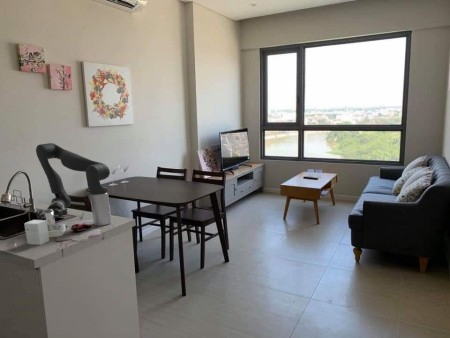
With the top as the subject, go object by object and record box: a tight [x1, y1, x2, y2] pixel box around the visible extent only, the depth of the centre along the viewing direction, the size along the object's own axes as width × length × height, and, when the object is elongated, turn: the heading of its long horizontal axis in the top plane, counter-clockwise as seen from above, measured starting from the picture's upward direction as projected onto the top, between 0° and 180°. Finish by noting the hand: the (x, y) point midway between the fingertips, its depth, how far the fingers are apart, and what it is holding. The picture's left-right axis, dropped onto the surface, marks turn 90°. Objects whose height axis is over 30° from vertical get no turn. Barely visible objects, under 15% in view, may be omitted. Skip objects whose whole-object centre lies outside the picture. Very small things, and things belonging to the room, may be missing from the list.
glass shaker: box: [44, 209, 57, 231], centre depth 175 cm, size 4×4×12 cm
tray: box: [48, 223, 66, 239], centre depth 176 cm, size 11×11×3 cm
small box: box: [23, 219, 50, 246], centre depth 164 cm, size 8×6×10 cm
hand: (49, 217), depth 174 cm, fingers open, 8 cm apart
